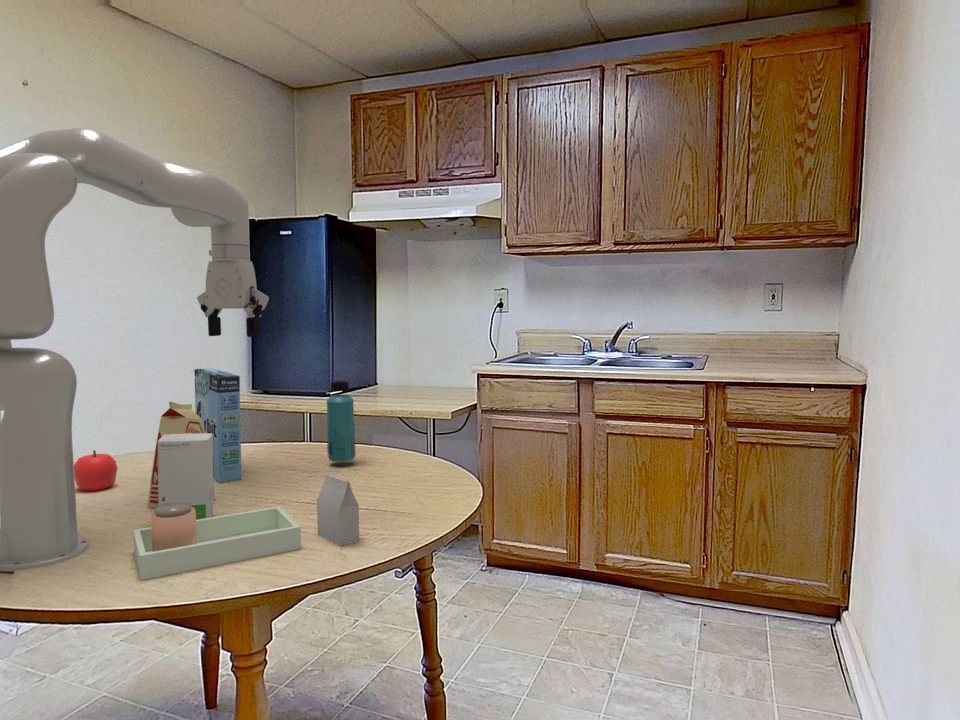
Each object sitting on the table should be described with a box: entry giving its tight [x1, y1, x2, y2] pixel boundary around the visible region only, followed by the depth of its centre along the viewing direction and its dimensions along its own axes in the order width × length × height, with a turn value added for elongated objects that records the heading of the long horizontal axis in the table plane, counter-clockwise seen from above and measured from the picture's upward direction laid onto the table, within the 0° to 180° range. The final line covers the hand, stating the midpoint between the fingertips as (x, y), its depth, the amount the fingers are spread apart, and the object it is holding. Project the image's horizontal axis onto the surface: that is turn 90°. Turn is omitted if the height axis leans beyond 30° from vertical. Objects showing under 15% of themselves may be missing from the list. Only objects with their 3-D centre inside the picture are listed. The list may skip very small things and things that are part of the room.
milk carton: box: [147, 401, 216, 509], centre depth 125 cm, size 9×9×20 cm
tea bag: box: [316, 473, 360, 547], centre depth 107 cm, size 4×7×10 cm, turn 43°
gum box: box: [193, 367, 243, 484], centre depth 147 cm, size 19×5×23 cm, turn 37°
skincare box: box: [158, 433, 214, 520], centre depth 113 cm, size 8×7×16 cm
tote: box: [132, 505, 302, 582], centre depth 100 cm, size 22×12×4 cm, turn 122°
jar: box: [150, 502, 197, 552], centre depth 97 cm, size 6×6×8 cm
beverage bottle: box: [326, 380, 356, 463], centre depth 154 cm, size 6×7×20 cm
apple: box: [74, 449, 118, 492], centre depth 136 cm, size 8×8×8 cm
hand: (233, 336), depth 139 cm, fingers open, 9 cm apart
